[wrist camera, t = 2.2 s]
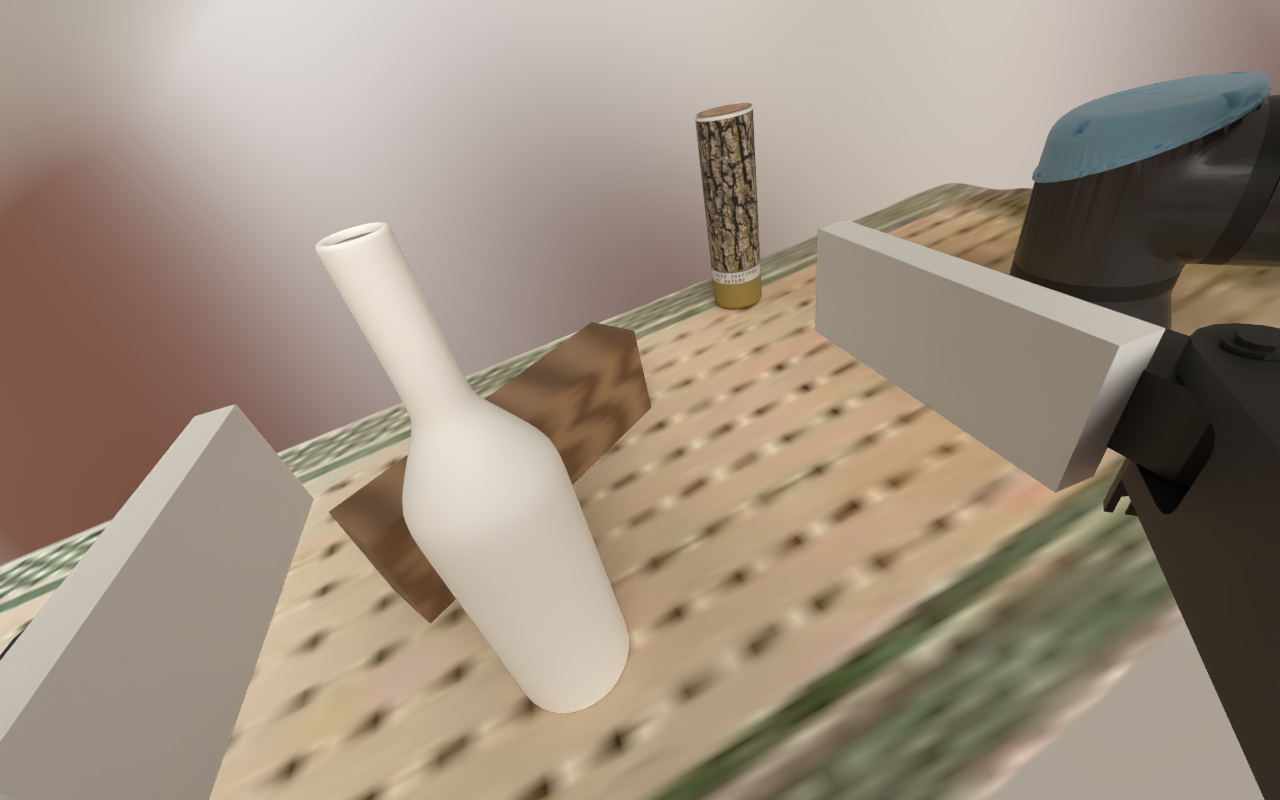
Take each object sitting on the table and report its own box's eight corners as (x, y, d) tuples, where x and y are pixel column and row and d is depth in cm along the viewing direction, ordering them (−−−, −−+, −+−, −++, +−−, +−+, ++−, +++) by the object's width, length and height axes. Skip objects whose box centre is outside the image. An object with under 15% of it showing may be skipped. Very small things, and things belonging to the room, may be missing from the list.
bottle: (531, 604, 39) (312, 220, 21) (632, 595, 38) (489, 184, 20) (507, 718, 32) (162, 301, 15) (628, 711, 31) (411, 254, 14)
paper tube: (770, 300, 71) (763, 103, 57) (729, 315, 70) (711, 118, 56) (746, 286, 77) (734, 102, 62) (707, 299, 75) (685, 115, 61)
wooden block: (611, 395, 60) (591, 322, 54) (651, 407, 56) (634, 330, 50) (393, 588, 42) (328, 511, 37) (430, 623, 39) (365, 544, 33)
